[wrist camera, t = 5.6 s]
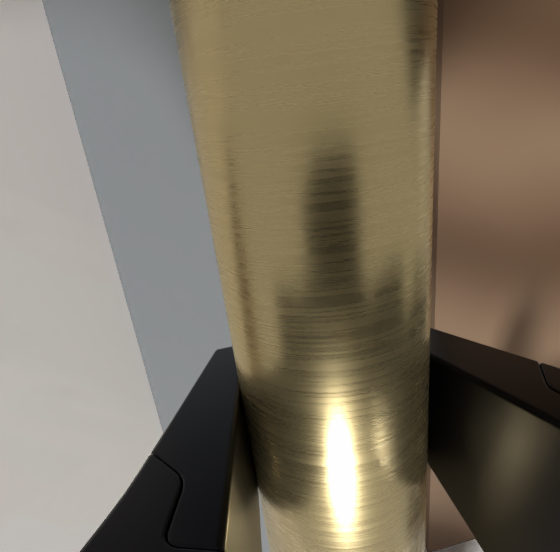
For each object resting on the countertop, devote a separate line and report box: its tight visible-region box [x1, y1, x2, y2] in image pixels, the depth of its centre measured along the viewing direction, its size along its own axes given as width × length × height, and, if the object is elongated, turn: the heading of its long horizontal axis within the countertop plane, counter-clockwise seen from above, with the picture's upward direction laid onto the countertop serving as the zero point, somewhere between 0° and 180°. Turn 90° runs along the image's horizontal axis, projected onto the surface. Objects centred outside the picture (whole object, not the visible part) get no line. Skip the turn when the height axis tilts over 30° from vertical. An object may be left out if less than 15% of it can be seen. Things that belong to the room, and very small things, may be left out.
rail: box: [169, 0, 437, 552], centre depth 7 cm, size 24×3×3 cm, turn 7°
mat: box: [42, 0, 270, 552], centre depth 13 cm, size 8×26×1 cm, turn 7°
